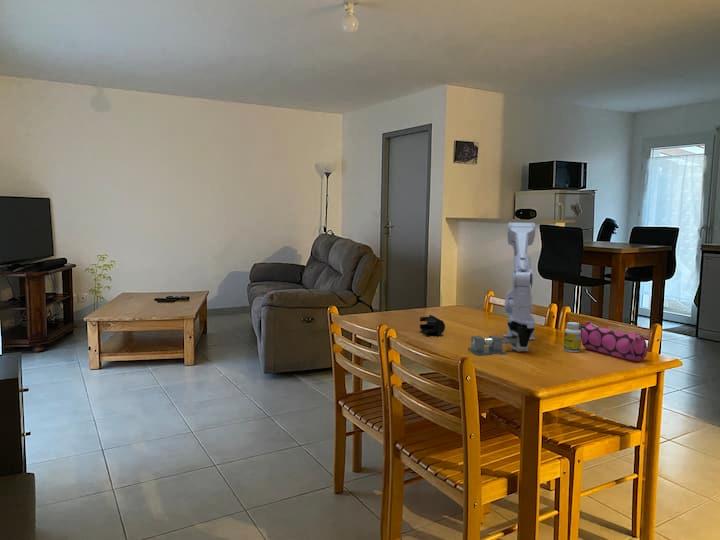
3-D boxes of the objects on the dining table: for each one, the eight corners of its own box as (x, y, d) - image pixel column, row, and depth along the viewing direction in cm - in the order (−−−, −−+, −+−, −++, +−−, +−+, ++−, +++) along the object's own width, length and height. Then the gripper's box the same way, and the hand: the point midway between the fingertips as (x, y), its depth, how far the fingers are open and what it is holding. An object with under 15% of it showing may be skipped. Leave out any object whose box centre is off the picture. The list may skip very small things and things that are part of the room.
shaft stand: (511, 347, 193) (512, 333, 192) (522, 353, 185) (522, 338, 184) (468, 349, 190) (468, 334, 189) (477, 355, 182) (477, 340, 181)
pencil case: (575, 350, 191) (577, 322, 190) (593, 346, 196) (595, 319, 195) (633, 364, 173) (634, 333, 172) (650, 360, 178) (652, 330, 177)
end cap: (445, 336, 210) (445, 319, 209) (427, 337, 209) (427, 319, 208) (436, 331, 220) (436, 314, 219) (419, 331, 218) (419, 315, 218)
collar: (521, 347, 192) (522, 329, 191) (528, 351, 187) (528, 332, 186) (510, 347, 191) (511, 330, 190) (517, 351, 186) (518, 333, 185)
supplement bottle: (560, 349, 191) (561, 322, 190) (572, 348, 193) (574, 321, 192) (571, 353, 186) (572, 325, 185) (583, 352, 188) (585, 324, 187)
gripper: (501, 302, 194) (500, 340, 195) (520, 309, 179) (519, 350, 181) (519, 302, 195) (518, 339, 196) (540, 309, 181) (538, 349, 182)
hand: (519, 344), depth 189 cm, fingers closed on collar, 5 cm apart
